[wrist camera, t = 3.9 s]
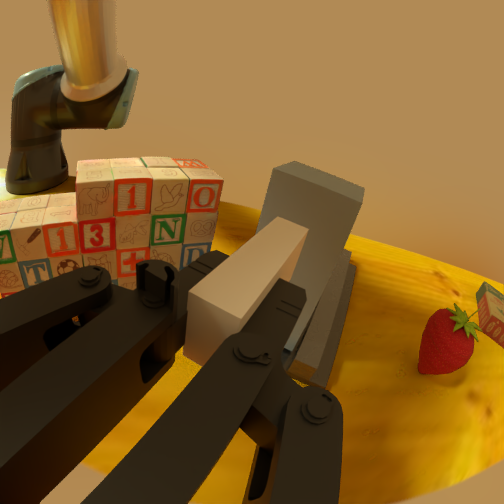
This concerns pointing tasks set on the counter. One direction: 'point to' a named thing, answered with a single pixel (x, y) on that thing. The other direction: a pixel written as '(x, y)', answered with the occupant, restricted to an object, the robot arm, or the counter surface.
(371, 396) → the counter surface
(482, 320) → the carton
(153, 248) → the stack of blocks
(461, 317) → the strawberry
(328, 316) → the chute
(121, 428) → the counter surface
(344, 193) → the grey rectangular block
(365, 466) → the counter surface
